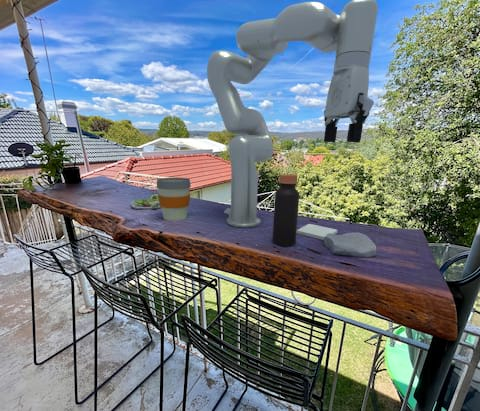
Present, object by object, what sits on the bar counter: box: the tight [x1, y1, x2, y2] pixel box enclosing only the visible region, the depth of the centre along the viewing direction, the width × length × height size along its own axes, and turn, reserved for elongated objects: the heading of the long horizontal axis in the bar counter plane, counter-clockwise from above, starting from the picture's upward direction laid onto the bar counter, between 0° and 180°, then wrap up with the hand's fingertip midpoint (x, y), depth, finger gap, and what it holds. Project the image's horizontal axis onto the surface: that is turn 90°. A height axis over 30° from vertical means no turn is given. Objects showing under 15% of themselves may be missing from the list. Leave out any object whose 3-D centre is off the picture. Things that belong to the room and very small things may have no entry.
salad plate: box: [130, 193, 162, 211], centre depth 113 cm, size 19×18×5 cm
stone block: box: [323, 232, 377, 258], centre depth 67 cm, size 12×5×10 cm
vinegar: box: [272, 173, 300, 247], centre depth 69 cm, size 7×7×20 cm
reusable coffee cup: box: [156, 177, 192, 222], centre depth 93 cm, size 13×13×15 cm
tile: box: [296, 223, 338, 241], centre depth 80 cm, size 10×10×1 cm
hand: (340, 142), depth 60 cm, fingers open, 9 cm apart
